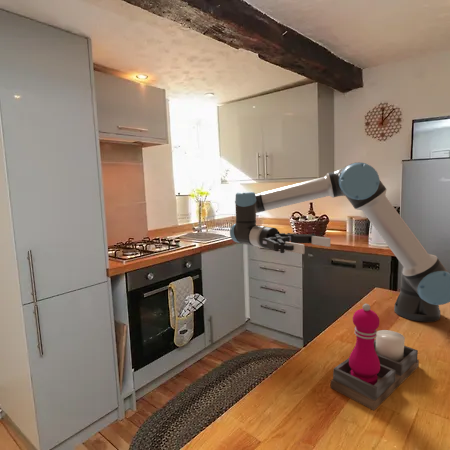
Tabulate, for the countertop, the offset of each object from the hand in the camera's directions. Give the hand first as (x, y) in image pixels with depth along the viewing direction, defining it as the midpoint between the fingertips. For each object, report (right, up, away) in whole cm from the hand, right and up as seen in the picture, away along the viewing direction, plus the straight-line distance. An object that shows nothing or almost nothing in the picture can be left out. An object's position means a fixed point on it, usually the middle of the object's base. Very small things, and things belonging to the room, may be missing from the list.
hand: (317, 245), depth 100 cm
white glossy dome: (+17, -31, -9) cm, 37 cm away
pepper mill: (+7, -33, -17) cm, 38 cm away
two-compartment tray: (+12, -34, -13) cm, 38 cm away
